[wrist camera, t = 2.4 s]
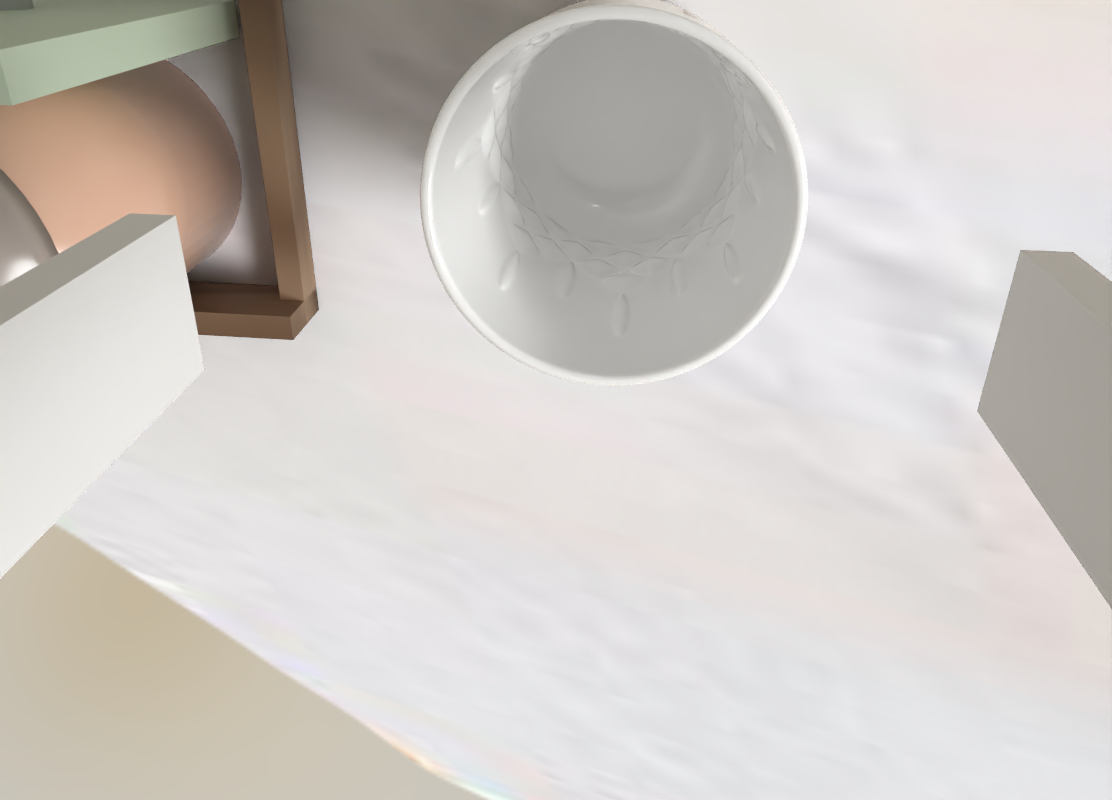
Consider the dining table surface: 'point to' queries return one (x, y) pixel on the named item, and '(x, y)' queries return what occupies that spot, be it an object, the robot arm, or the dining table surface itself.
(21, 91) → the pusher plate
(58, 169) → the terracotta jar
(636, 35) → the white cup
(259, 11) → the brown wooden rack
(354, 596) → the dining table surface
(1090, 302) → the robot arm
